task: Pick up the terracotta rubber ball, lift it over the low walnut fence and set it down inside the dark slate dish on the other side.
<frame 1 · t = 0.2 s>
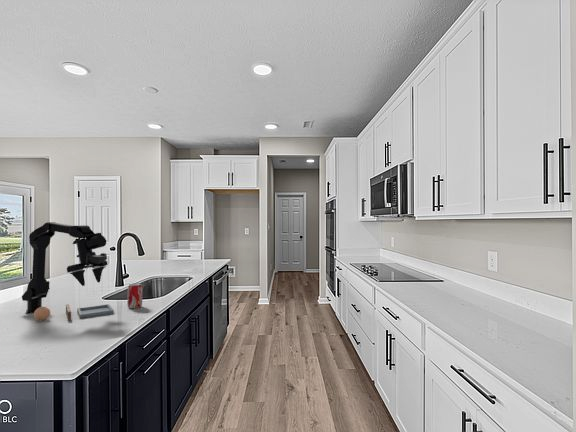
hand: (91, 284, 158), 15 cm above the worktop, tool pointing down, fingers open, 9 cm apart
ball: (42, 313, 152), point 3 cm above the worktop
soda can: (134, 307, 175), on the worktop
fence: (68, 316, 158), on the worktop
dish: (95, 312, 165), on the worktop
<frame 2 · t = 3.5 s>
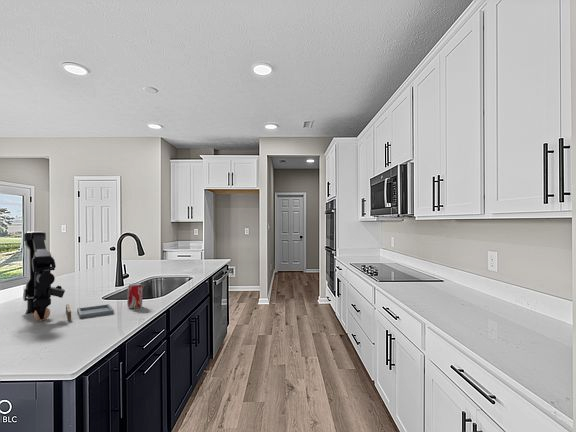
hand: (42, 317, 152), 1 cm above the worktop, tool pointing down, fingers closed on ball, 6 cm apart
ball: (42, 313, 152), point 3 cm above the worktop, touching gripper
everything else where it was.
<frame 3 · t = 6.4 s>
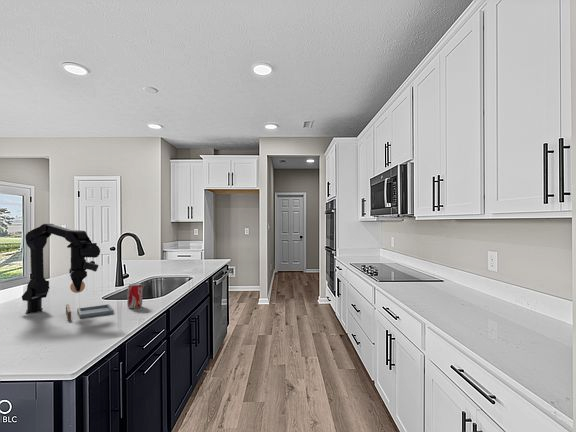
hand: (77, 290, 160), 12 cm above the worktop, tool pointing down, fingers closed on ball, 6 cm apart
ball: (77, 286, 160), point 14 cm above the worktop, touching gripper
everything else where it was.
when the fingers open (2 cm above the worktop, at t = 9.7 s): ball stays where it is, resting on dish.
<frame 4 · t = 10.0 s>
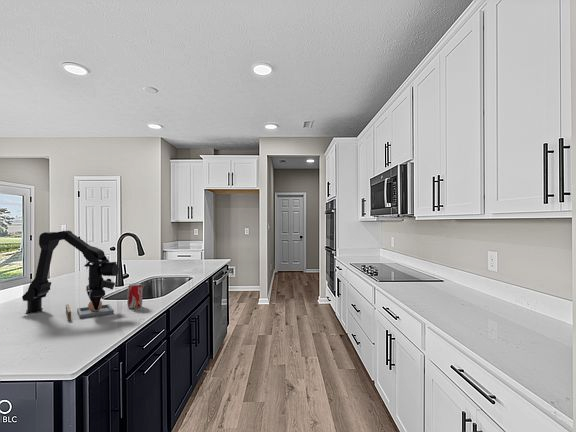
hand: (95, 307, 165), 2 cm above the worktop, tool pointing down, fingers open, 9 cm apart
ball: (95, 305, 165), point 4 cm above the worktop, touching dish
everything else where it was.
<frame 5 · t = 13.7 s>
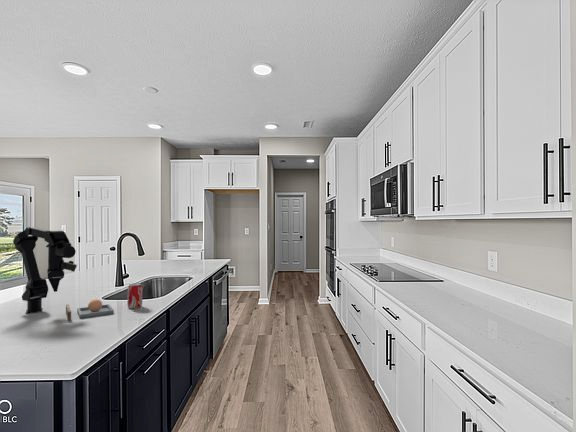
hand: (55, 290, 160), 12 cm above the worktop, tool pointing down, fingers open, 9 cm apart
nothing on the worktop moved.
at the end: ball inside the target area on the dish (0.1 cm from its centre), point 3.6 cm above the dish's base; the gripper is holding nothing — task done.
